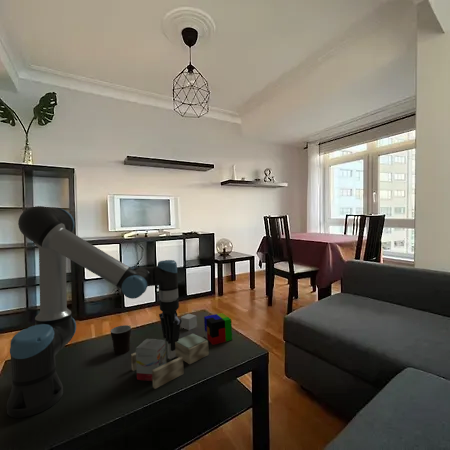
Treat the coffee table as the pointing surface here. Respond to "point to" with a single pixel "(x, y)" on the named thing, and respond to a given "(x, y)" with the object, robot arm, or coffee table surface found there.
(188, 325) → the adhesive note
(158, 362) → the ink box
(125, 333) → the coffee mug
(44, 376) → the robot arm
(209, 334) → the puzzle toy
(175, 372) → the wooden blocks
